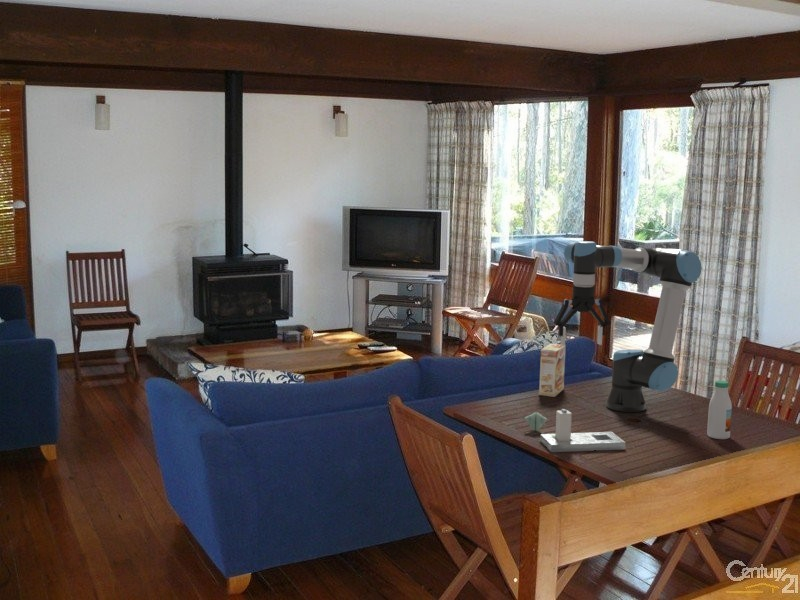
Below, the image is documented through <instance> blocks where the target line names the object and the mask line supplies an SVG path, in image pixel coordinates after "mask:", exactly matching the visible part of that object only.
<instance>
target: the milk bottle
mask: <svg viewBox="0 0 800 600" xmlns="http://www.w3.org/2000/svg"><path fill="white" fill-rule="evenodd" d="M729 386H730V383H729V382H728V381H726V380H715V382H714V388H715V390H714V392H713V394H712V396H711V398H710V400H709V405H708V415H707V416H708V417H707V426H706V427H707V428H706V429H707V430H706V435H707V436H708V437H709V438H711V439H716V440H727V439H730V437H731V425H732V409H733V407H732V406H733V404H732V400H731V397H730V395H729V389H730V388H729Z"/></svg>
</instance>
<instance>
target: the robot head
mask: <svg viewBox="0 0 800 600" xmlns="http://www.w3.org/2000/svg"><path fill="white" fill-rule="evenodd" d="M524 420H525V421H526V422H527V423H528V424H529V425H530V428H531V429H532V430H533V431H534V432H537V431H539V430H540V429H541V428H542V426H543V425H544V424H545V423H546V422H547V421H548V419H547V417H545V416H543V415H542V414H541V413H540V412H537V411H535V412H532V414H529V415H526V416H525V417H524Z"/></svg>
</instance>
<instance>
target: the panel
mask: <svg viewBox="0 0 800 600" xmlns="http://www.w3.org/2000/svg"><path fill="white" fill-rule="evenodd" d="M555 434H556V433H541V434H540V435H539V436H540V438H539V439H540V440H539V442H540V443H541V444H543V446H544V447H545V446H546V447H547V448H546V447H545V448H546V449H548V451H549V452H550V453H563V452H564V453H565V452H588V451H590V452H591V451H594V450H596V451H615V450H616V451H617V450H619V451H621V450H626V441H624V440H623V439H622V438H621V437H620V436H618V435H617V434H616V433H614V432H613V431H594V432H588V431H587V432H571V440H570V441H562V442H557V441H556V440H555Z"/></svg>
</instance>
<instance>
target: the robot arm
mask: <svg viewBox="0 0 800 600" xmlns="http://www.w3.org/2000/svg"><path fill="white" fill-rule="evenodd" d="M563 256H564V258H565V260H566V261H567V262H569V263H572V264H573V274H572V283H573V286H572V294H571V295H572V298H571V299H567V298H564V299H563V300H562V305H561V307H560V309H559V311H558V313H557V315H556V317H555V318H554V320H553V325H555V326H557V327H558V336H559V337H560V344H561V345H562V346H565V345H566V333H567V330H566V329H567V328H566V327H565V326H566V324H567V323H568V322H569V321H570V319H572V317H574V315H575V314H576V313H583V312H585V313H588V312H590V314H591V315H592V316H593V317H594V319H595V320H596V321H597V323H598V324H599V325H597V334H596V336H597V340H596V344H597V345H599V346H602V345H603V336H605V335H606V328H607V326H610V325H611V320H610V318H609V315H608V313H607V312H606V309H605V307H604V301H603V299H602V298H597V299H595V286H594V285H595V284H596V269H597V268H619V269H629V270H632V271H633V272H635V273H642V274H646V275H649V276H653V277H656V278H659V283H660V284H661V288H662V289H661V293H660V296H659V302H658V305H657V311H656V315H655V320H654V323H653V326H652V333H651V338H650V342H649V346H648V348H647V349H645V350H642V349H620V350H616V351H615V352H614V353H613V356H612V357H613V358H612V365H611V366H612V368H611V369H612V370H611V371H612V373H611V374H612V375H611V388H610V391H609V393H608V395H607V397H606V401H605V405H606V406H605V407H606V408H608V409H610V410H613V411H616V412H622V413H623V412H624V413H625V412H626V413H638V412H643V411H645V410H646V404H647V403H646V400H645V397H644V393H643V388H647V389H649V390H652V391H658V392H665V391H668V390H670V389H671V388H672V387H673V386H674V385H675V384H676V382H677V379H678V378H679V369H678V366H677V364H676V363H675V360H676V357H675V356H674V355H673V349H674V344H675V339H676V336H677V332H678V327H679V323H680V318H681V314H682V309H683V304H684V300H685V295H686V293H687V292H686V291H688V290H689V289H691V287H692V284H693V283H695V282H697V281H698V279H699V278H700V277H701V275H702V274H701V273H702V267H703V266H702V261H701V259H700V257H699V255H698V254H697V253H695V252H694V251H691V250H687V249H678V248H667V247H636V248H635V249H633V248H624V247H619V246H616V245H598V244H597V243H596V242H595V241H587V240H583V241H579V240H578V241H576V242H569V243H568V244H566V246H565V247H564V253H563ZM570 305H572V306H571V308H570V309H569V311H568V312H567V314H566V311H567V310H568V307H569V306H570ZM594 305H596V306H597V308H598V310H599V312H600V314H601V316H600V315H599V313H597V312H596V310H595V309H594V307H593V306H594ZM601 317H602V318H601Z"/></svg>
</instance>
